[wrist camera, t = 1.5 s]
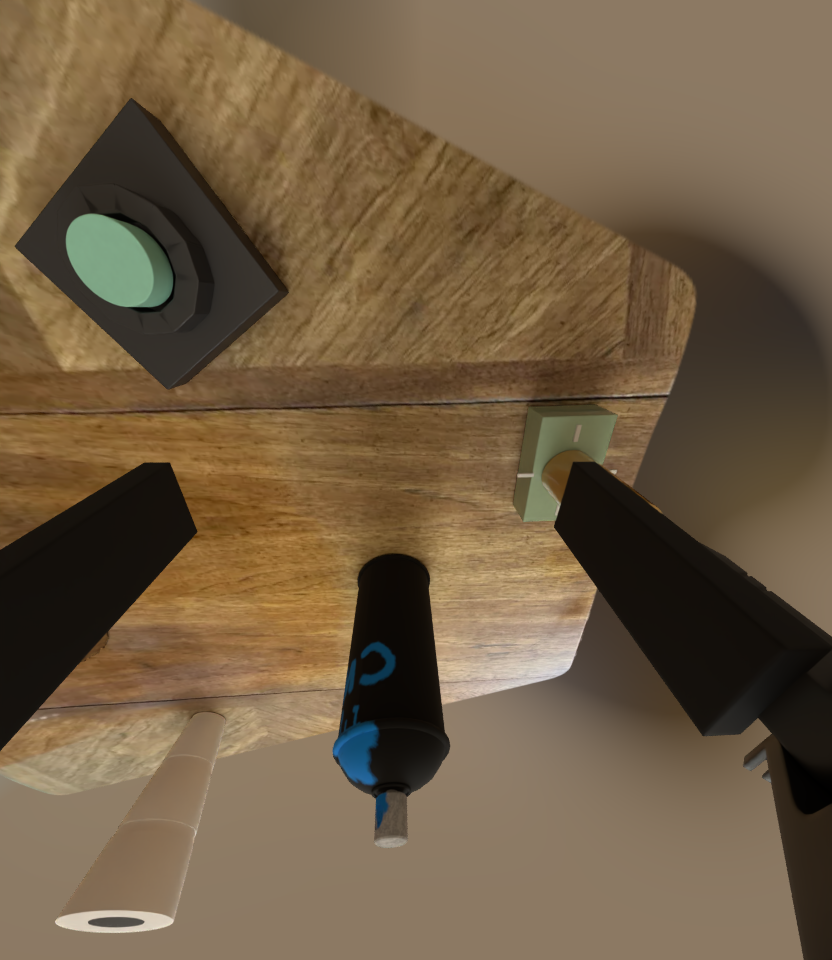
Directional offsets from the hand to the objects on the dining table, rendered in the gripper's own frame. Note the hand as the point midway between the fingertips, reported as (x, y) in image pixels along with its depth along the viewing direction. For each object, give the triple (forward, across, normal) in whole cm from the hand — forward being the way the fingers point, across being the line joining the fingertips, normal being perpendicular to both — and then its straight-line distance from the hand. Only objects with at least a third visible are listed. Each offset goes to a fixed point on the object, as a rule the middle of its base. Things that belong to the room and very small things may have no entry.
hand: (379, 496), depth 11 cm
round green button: (+13, -14, +7) cm, 21 cm away
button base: (+17, -14, +7) cm, 23 cm away
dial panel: (+17, +15, -6) cm, 23 cm away
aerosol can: (+17, 0, -22) cm, 27 cm away
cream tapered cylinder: (+17, -29, -50) cm, 60 cm away
